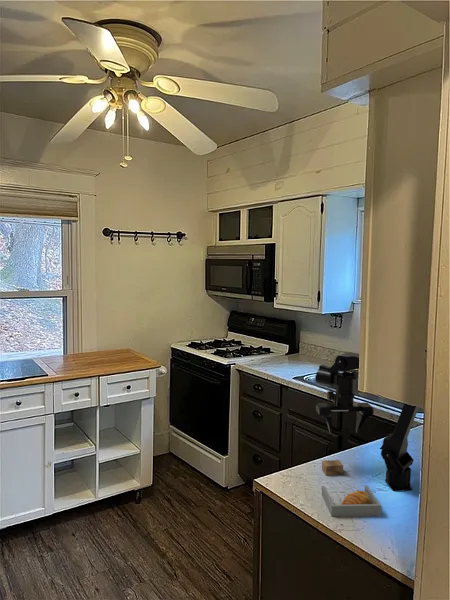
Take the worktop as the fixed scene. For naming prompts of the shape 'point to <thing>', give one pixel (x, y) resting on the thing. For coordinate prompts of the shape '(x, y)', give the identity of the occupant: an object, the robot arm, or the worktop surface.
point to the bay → (353, 506)
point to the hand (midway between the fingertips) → (343, 432)
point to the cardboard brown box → (332, 467)
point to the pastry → (357, 498)
